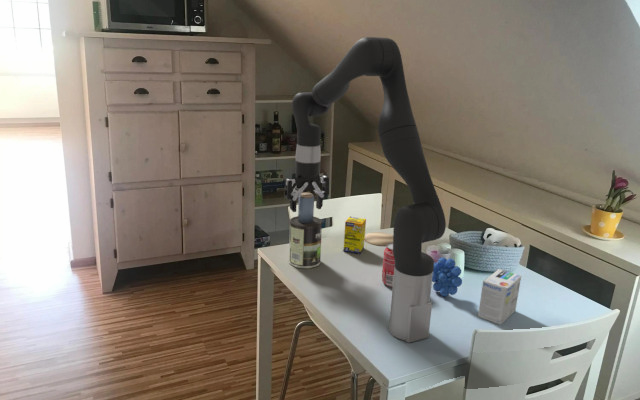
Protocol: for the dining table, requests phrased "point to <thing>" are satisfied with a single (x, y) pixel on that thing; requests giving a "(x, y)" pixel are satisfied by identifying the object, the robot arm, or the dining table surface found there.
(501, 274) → the light bulb box
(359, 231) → the supplement box
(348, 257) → the dining table surface
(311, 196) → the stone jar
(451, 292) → the grapes
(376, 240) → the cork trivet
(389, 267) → the soda can
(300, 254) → the coffee can
